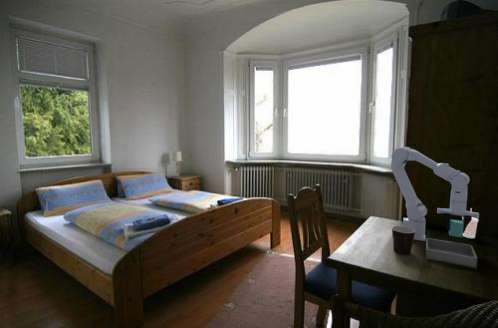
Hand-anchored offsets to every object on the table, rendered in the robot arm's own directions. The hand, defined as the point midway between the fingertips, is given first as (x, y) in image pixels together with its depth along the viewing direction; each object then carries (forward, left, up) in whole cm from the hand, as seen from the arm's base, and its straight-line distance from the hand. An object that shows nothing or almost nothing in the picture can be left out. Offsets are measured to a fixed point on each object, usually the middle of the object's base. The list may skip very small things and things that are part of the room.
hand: (455, 231), depth 123 cm
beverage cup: (+7, +18, -7) cm, 21 cm away
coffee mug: (-20, -19, -7) cm, 28 cm away
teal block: (0, 0, -2) cm, 2 cm away
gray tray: (-3, -13, -7) cm, 15 cm away
